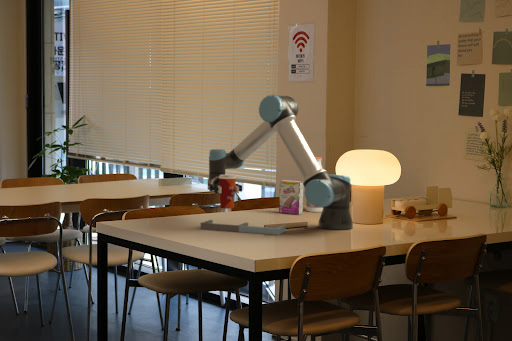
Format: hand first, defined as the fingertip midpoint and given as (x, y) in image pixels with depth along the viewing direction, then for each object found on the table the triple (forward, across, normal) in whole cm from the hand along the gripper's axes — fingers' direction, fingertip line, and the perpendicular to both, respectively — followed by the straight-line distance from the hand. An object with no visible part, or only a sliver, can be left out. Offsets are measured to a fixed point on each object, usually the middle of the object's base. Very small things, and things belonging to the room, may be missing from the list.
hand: (229, 190), depth 309 cm
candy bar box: (-51, -40, -17) cm, 67 cm away
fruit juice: (-60, -56, -17) cm, 83 cm away
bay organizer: (0, -6, -17) cm, 18 cm away
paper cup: (-5, 0, -8) cm, 10 cm away
